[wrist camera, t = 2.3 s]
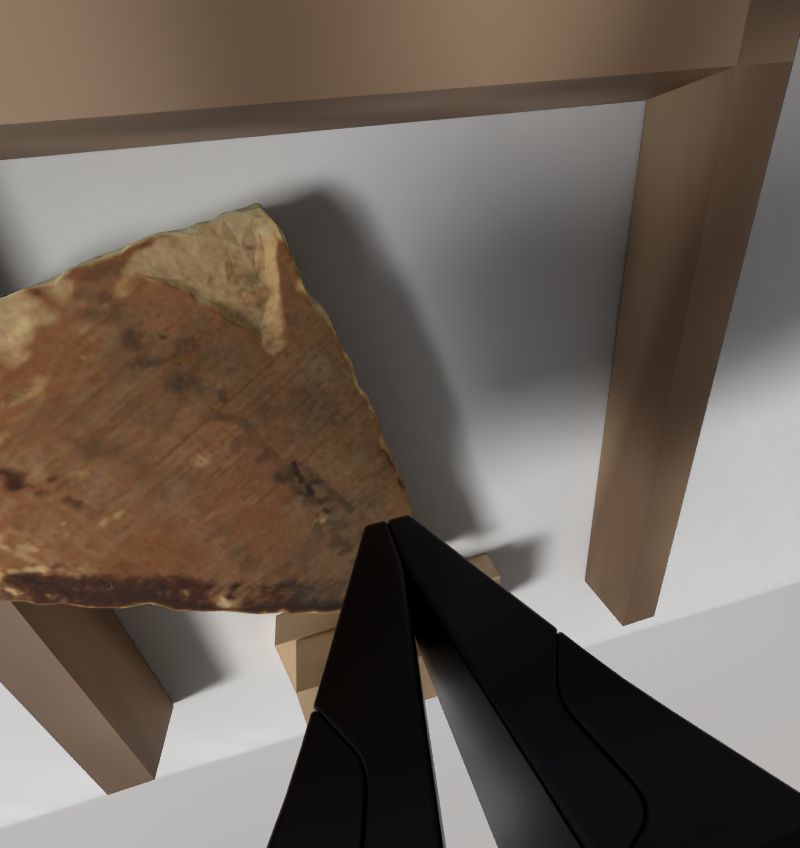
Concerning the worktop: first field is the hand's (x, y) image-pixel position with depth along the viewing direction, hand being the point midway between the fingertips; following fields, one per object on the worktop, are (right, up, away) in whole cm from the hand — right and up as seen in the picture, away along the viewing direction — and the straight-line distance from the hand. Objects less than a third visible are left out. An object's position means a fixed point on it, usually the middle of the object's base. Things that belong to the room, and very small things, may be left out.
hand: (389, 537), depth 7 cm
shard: (0, +2, +5) cm, 5 cm away
